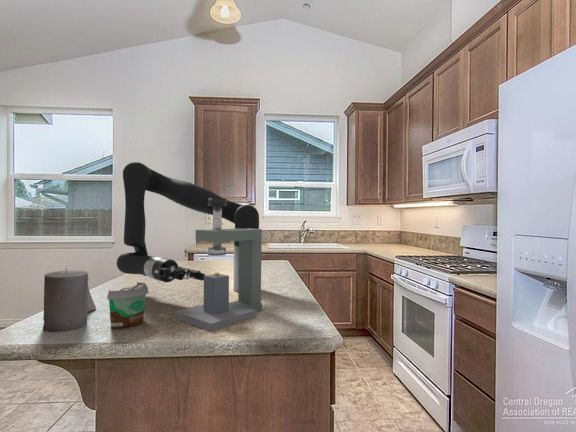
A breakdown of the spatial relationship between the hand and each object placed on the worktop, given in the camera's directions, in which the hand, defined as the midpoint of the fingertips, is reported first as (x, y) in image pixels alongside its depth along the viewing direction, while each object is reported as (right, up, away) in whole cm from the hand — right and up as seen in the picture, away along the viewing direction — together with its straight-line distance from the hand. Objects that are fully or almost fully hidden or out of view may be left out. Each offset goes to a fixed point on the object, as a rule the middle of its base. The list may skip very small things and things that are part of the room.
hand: (193, 277), depth 104 cm
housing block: (+9, -8, -8) cm, 14 cm away
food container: (-12, -10, -14) cm, 21 cm away
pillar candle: (-29, -10, -16) cm, 34 cm away
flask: (-33, -10, -2) cm, 34 cm away
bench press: (+11, -10, -5) cm, 16 cm away
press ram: (+9, +8, -8) cm, 15 cm away
